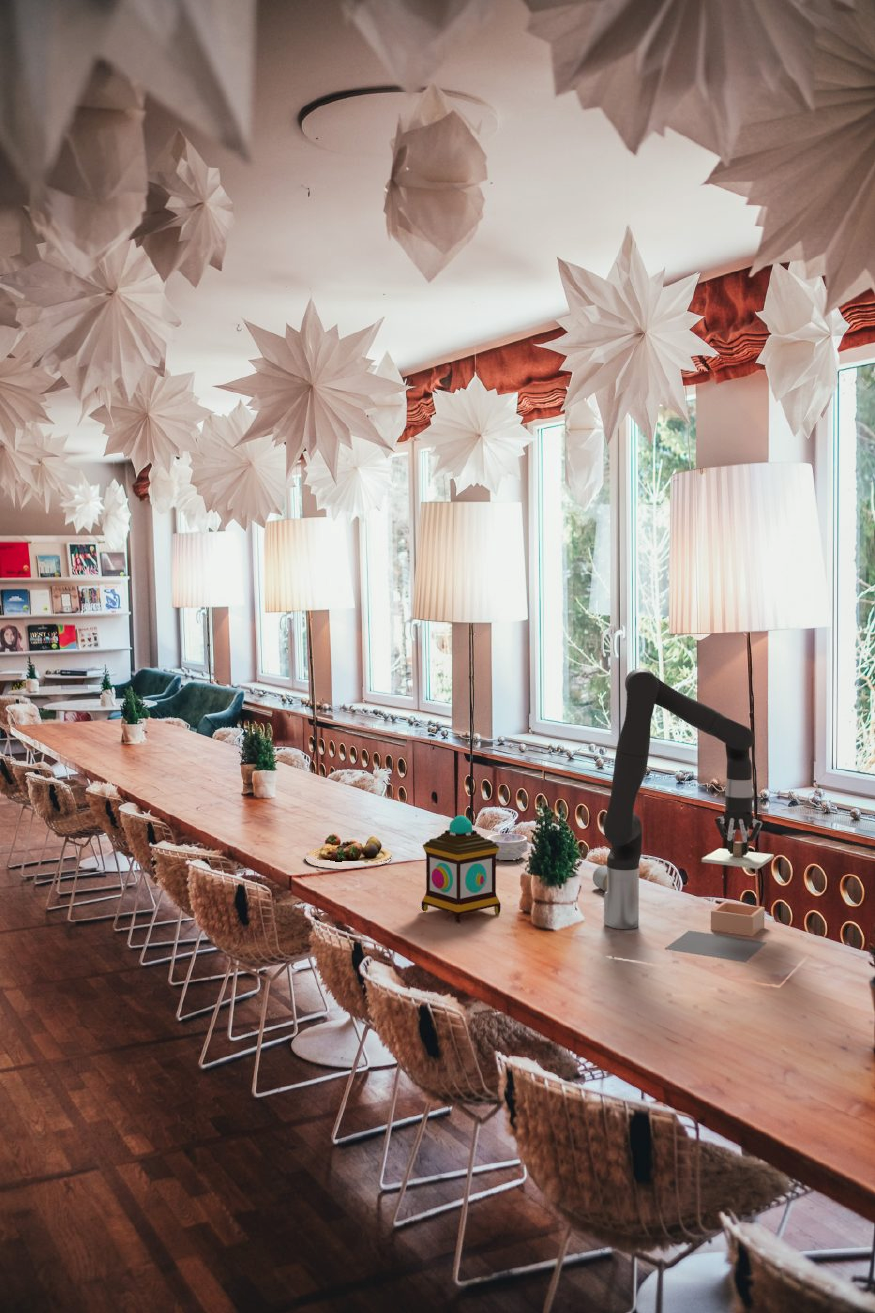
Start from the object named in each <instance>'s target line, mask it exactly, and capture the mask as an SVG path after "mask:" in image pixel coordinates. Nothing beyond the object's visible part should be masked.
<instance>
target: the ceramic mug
mask: <svg viewBox="0 0 875 1313" xmlns="http://www.w3.org/2000/svg"><path fill="white" fill-rule="evenodd" d="M592 882H593V884H594V885H595V886H596V887H597V888H599V889H600V890H602V891H604V892H607V864H606V865H600V866H598V867H596V868H595V870H594V871H593V873H592Z"/></svg>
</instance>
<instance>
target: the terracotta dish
mask: <svg viewBox="0 0 875 1313" xmlns="http://www.w3.org/2000/svg"><path fill="white" fill-rule="evenodd" d="M765 908H766V907H764V906H760V905H759V906H758V905H751V904H745V903H743V904H742V903H737V902H729V901H722V902H721V903H719V904H718V905H717V906H716V907H714V908H713V909H712V910H710V930H711V931H715V932H716V931H717V932H723V933H730V934H736V935H743V936H749V937H753V936H755V935H756V934H757V933H758V932H760V931H761V929H765V912H766V910H765Z"/></svg>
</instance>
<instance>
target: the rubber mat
mask: <svg viewBox="0 0 875 1313" xmlns="http://www.w3.org/2000/svg"><path fill="white" fill-rule="evenodd" d="M766 944H767V941H761V940H753V939H747V938H739V937H734V936H727V935H721V934H720V935H719V934H715V933H714V934H713V933H709V932H708V933H707V932H701V931H695V930H687V931H686V932H685V933H684V934H682V935H681V936H679V937H678V938H677V939H675V940H674V941H673V942H672V943H670V944H669V945H667V946H666V947H665V948H664V950H669V951H673V952H674V951H675V952H681V953H688V954H693V955H699V956H700V955H701V956H706V957H712V958H717V959H722V960H723V959H724V960H728V961H729V960H731V961H734V962H735V961H736V962H742V963H747V962H748V961H749V960H750V959H751V958H752V957H753V956H755V954H756V953H757V952H758V951H759V950H760V949H761V948H762V947H764V946H765V945H766Z"/></svg>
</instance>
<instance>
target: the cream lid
mask: <svg viewBox="0 0 875 1313" xmlns="http://www.w3.org/2000/svg"><path fill="white" fill-rule="evenodd" d="M742 842H743V841H734V842H733V854H730V852H728V848H721V847H720V848H717V849H716V850H714V851H711V853H708V854H707V855H706V856H703V857H701V863H707V864H715V865H723V866H731V867H738V868H746V869H747V868H748V869H754V870H758V869H760V868H762V867H763V866H764V865H766V864H767V863H769V862H770V861H771V860H773V859H774V858H775V855H774V854H772V853H763V852H755V851H749V852H748V853H747V854H746V855H742Z"/></svg>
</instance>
